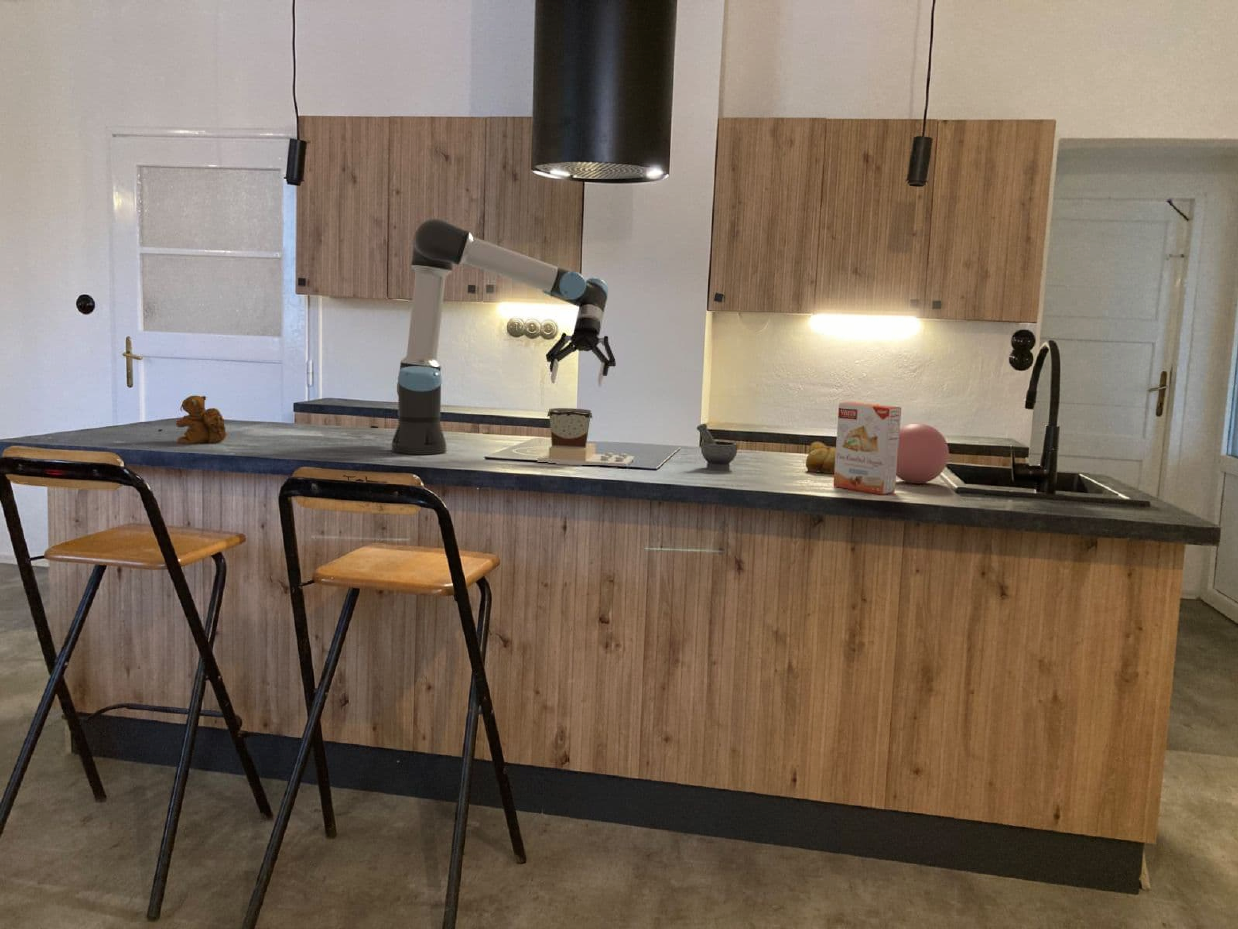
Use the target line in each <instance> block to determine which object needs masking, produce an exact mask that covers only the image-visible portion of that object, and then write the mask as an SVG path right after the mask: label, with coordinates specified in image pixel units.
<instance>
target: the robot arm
mask: <svg viewBox="0 0 1238 929" xmlns="http://www.w3.org/2000/svg"><path fill="white" fill-rule="evenodd" d="M454 264H455V265H457V266H462V265H464V264H466V265H468V266H471V267H474V268H477V269H481V270H483V271H485V272H489V273H492V274H495V275H498V276H500V277H504V278H506V279H508V280H509V279H510V280H511V281H515V282H518V283H520V284H521V283H522V284H524V285H526V286H530V287H533V288H536V289H538V290H541V292H542V293H544V294H546V295H548V296H550V297H551V298H555V299H558V300H560V301H562V302H565V303H569V304H571V305H573V306H576V307H578V311H577V316H576V320H575V325H574V329H573V333H572V335H568V334H567V333H566V332H563V333H562V334H561V335H560V336H561V337H560V338H559V339H558V341H556V343H555V344H554V345H553V346H552V347H551V349H550V350H549V351H548V352H547V353H546V354H545V358H546V362H547V363H550V364H549V372H550V374H551V375H550V380H551V384H555V383H556V379H557V374H558V369H559V366H560V365H559V363H560V362H561V361H562V360H563V359H565V358H566V357H568V356H569V355H570V354H573V353H575V352H576V351H579V352H583V351H584V352H590V351H591V352H592V353H593V355H595V356H596V357H597V359H598V360H599V361H600V368H599V374H598V378H597V383H598V387H600V388H601V387H602V385H603V380H604V377H607V376H608V374H609V368H610V367H613V368H614V367H616V366H617V365H616V359H615V356H614V354H613V351H612V348H611V346H610V344H609V343H610V341H609V336H608V335H604V336H603V337H600V334H601V328H602V324H603V318H604V312H605V308H606V304H607V302H608V294H609V285H608V284H607V283H606V282H605V280H603V279H601V278H598V277H597V278H595V277H591V278H588V279H587V280H585V278H584V277H583V275H582V274H581V273H579V272H576V271H574V270H573V271H572V270H571V271H570V270H568V269H565V268H561V267H558V266H556V265H553V264H550V263H548V262H544V261H541V260H539V259H536V258H533V257H530V256H528V255H525V254H522V253H520V252H516V251H514V250H511V249H508V248H505V247H502V246H499V245H496V244H495V243H491V242H488V241H486V240H483V239H480V238H477V237H474V236H473V234H472V233H471V232H470V231H469V230H465V229H463V228H461V227H459V226H456V225H454V224H452V223H450V222H447V221H445V220H443V219H439V218H430V219H426V220H425V221H423V222H421V224H419V226H418V227H417V229H416V230H415V232H414V234H413V238H412V254H411V264H410V267H411V268H412V270H413V271H414V273H415V276H414V277H415V278H414V284H413V285H414V287H413V296H412V301H411V302H412V304H411V312H410V322H409V332H408V338H407V339H408V340H407V341H408V342H407V348H406V349H407V350H406V356H405V357H404V358H402V360H400V363H399V364H400V365H399V371H398V376H397V384H396V392H397V396H398V397H397V398H398V402H397V406H398V407H397V409H398V410H397V416H398V418H397V426H396V428H395V431H394V435H393V438H392V441H391V447H390V448H391V450H390V451H391V452H393V453H398V454H403V455H404V454H405V455H406V454H407V455H439V454H443V453H446V452H447V442H446V438H445V436H444V432H443V429H442V424H441V415H442V414H441V412H442V411H441V410H442V408H441V407H442V406H441V405H442V402H441V400H442V397H441V396H442V392H441V391H442V382H443V380H442V372H441V370H442V366H441V364H440V363H439V362H438V360H437V357H438V351H439V350H438V348H439V340H440V331H441V325H442V324H441V322H442V315H443V314H442V313H443V303H444V298H445V297H444V295H445V286H446V278H447V277H448V276H449V275H451V274H452V271H453V265H454ZM566 344H567V345H566ZM599 344H601V345H602V346H603V347H604V350H605V352H606V355H607V356H605V355H604V353H603V352H602V350H601V349H600V348H599V346H598V345H599Z"/></svg>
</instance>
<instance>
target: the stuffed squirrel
mask: <svg viewBox="0 0 1238 929" xmlns="http://www.w3.org/2000/svg"><path fill="white" fill-rule="evenodd" d="M206 400H207V396H205V395H202V396H201V395H196V394H195V395H190V396H188V397H186V398H185V399H184V400H183V401H182V403H181V405H180V409H179V410H180V411H181V412H183V411H184V412H186V413H187V414H188V415H187V414H185V415H184V416H182V418H179V419H178V420H177V421H176V422H175V424H176V427H178V428H184V427H187V429H186V431H185V432H184V434H183V435H184V436H180V437H177V441H176V442H177V443H179V444H189V445H190V444H193V445H194V444H205V443H208V444H217V443H221V442H222V441H224V440H226V439H225V438H226V437H227V435H228V434H227V432H226V429H227V428H226V426H225V423H224V421H225V420H224V418H223V415H222V414H221V412H220V410H218V408H216V407H213V408H211V407H209V408H207V409H206V406H205V405H206V403H205V402H206Z"/></svg>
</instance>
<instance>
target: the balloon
mask: <svg viewBox="0 0 1238 929" xmlns="http://www.w3.org/2000/svg"><path fill="white" fill-rule="evenodd" d="M949 455H950V451H949V445H948V443H947V440H946V438H945V437H944V435H943V434H942V433H941V432H940V431H939V430H938V429H936V428H935V427H933V426H932V425H928V424H926V423H910V424H906V425H904V426H901V427H900V432H899V445H898V458H897V471H896V478H899V479H900V480H902V481H904V482H906V483H910V484H916V485H917V484H925V483H928V482H931V481H933V480H935V479H936V478H937V477H939V476H940V475H941V474H942V473H943V472H944V470H945V469H946V467H947V465H948V461H949Z"/></svg>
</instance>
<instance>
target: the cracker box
mask: <svg viewBox="0 0 1238 929" xmlns="http://www.w3.org/2000/svg"><path fill="white" fill-rule="evenodd" d="M837 416H838V417H837V429H836V443H835V444H836V445H835V448H836V455H835V469H834V473H833V484H832V485H833V487H836V488H841V489H848V490H854V491H859V492H865V493H871V494H875V495H881V496H882V495H883V496H884V495H887V494H889V495H890V494H895V491H896V481H897V476H896V471H897V458H898V445H899V432H900V428H901V416H902V407H901V406H893V405H884V404H883V405H881V404H875V403H867V402H866V403H864V402H854V401H843V402H839V403H838V415H837Z"/></svg>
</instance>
